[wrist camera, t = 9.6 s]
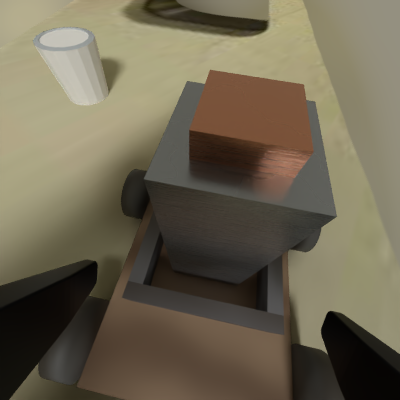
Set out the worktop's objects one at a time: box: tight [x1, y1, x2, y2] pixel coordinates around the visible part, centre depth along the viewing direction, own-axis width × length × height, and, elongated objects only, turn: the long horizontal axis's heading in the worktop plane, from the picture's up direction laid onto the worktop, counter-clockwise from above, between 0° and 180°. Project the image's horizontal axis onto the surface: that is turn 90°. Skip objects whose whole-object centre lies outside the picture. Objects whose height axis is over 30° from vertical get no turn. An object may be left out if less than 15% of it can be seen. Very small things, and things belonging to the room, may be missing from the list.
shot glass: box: [33, 27, 109, 105], centre depth 27 cm, size 7×7×7 cm
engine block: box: [144, 70, 337, 286], centre depth 11 cm, size 5×5×13 cm
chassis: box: [38, 169, 345, 400], centre depth 15 cm, size 16×16×4 cm
